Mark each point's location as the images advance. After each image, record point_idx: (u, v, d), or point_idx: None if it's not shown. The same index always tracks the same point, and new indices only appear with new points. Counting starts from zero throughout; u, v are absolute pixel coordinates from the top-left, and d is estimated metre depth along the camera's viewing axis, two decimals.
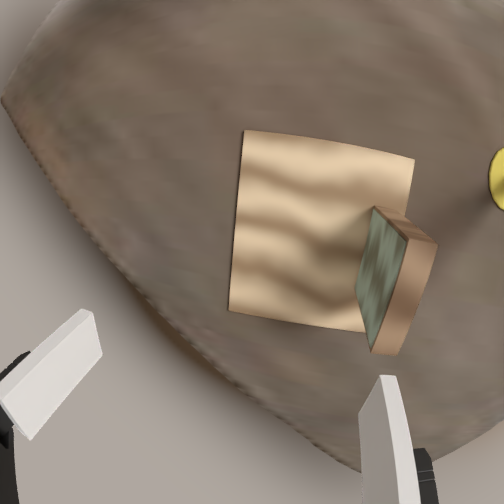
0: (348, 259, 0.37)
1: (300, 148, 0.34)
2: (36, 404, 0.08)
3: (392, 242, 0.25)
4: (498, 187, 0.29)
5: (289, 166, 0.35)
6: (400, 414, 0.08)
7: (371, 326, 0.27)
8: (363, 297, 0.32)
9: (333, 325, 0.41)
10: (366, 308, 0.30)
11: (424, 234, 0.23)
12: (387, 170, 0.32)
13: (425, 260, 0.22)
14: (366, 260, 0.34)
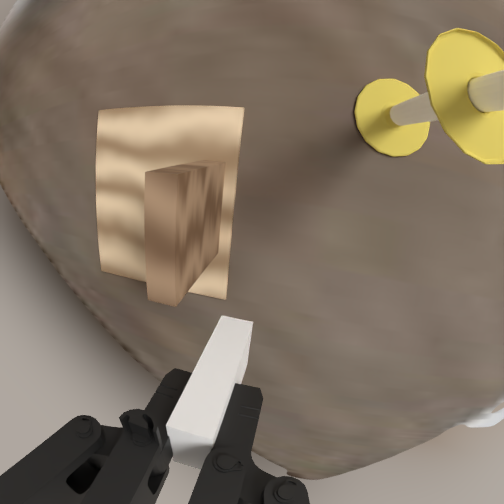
0: None
1: (136, 117, 0.34)
2: None
3: None
4: (371, 126, 0.29)
5: (128, 134, 0.35)
6: (237, 350, 0.11)
7: None
8: None
9: None
10: None
11: (187, 170, 0.24)
12: (213, 123, 0.33)
13: (167, 193, 0.22)
14: None
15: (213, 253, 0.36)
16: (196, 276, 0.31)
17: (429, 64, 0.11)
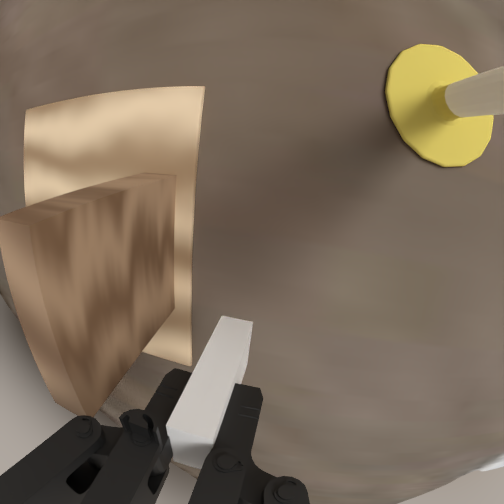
0: None
1: (62, 115, 0.21)
2: None
3: None
4: (412, 116, 0.16)
5: (54, 139, 0.22)
6: (237, 350, 0.11)
7: None
8: None
9: None
10: None
11: (69, 206, 0.11)
12: (158, 113, 0.20)
13: (24, 260, 0.09)
14: None
15: (163, 314, 0.23)
16: (128, 362, 0.18)
17: None
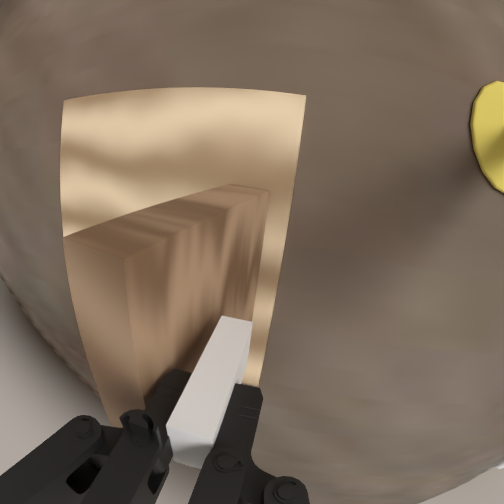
0: None
1: (117, 108, 0.20)
2: None
3: None
4: (490, 150, 0.15)
5: (105, 137, 0.21)
6: (237, 350, 0.11)
7: None
8: None
9: None
10: None
11: (170, 230, 0.10)
12: (251, 119, 0.19)
13: (108, 300, 0.08)
14: None
15: None
16: None
17: None
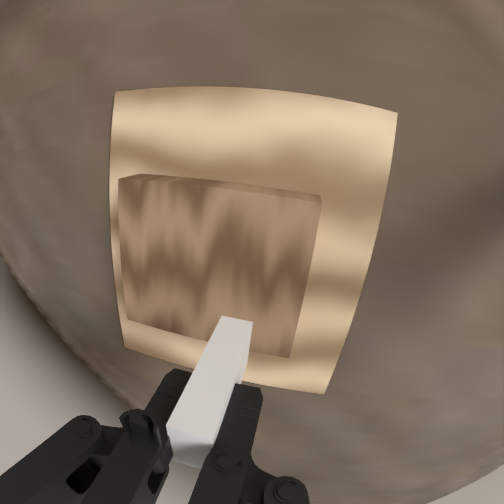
0: None
1: (189, 105, 0.19)
2: None
3: None
4: None
5: (173, 136, 0.20)
6: (237, 350, 0.11)
7: None
8: None
9: (266, 381, 0.27)
10: None
11: (152, 180, 0.19)
12: (346, 131, 0.18)
13: None
14: None
15: (261, 345, 0.21)
16: (184, 330, 0.22)
17: None
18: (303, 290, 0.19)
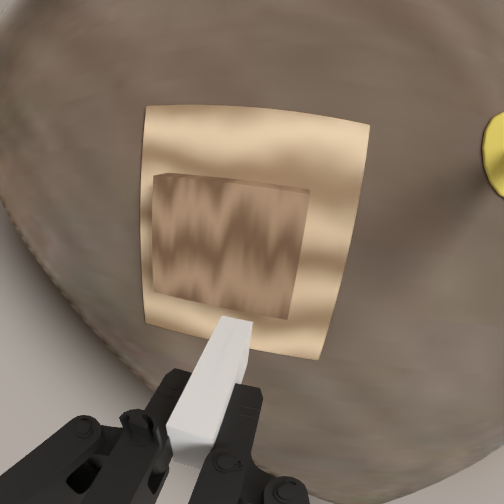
0: None
1: (209, 120, 0.25)
2: None
3: None
4: (496, 166, 0.21)
5: (196, 144, 0.26)
6: (237, 350, 0.11)
7: None
8: None
9: (268, 348, 0.33)
10: None
11: (181, 177, 0.25)
12: (329, 140, 0.24)
13: None
14: None
15: (264, 308, 0.27)
16: (202, 298, 0.28)
17: None
18: (297, 261, 0.25)
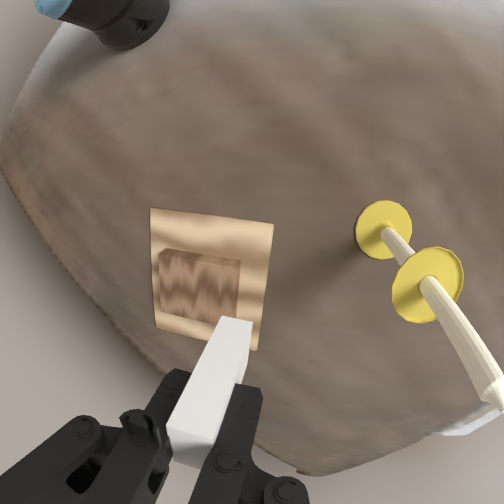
0: None
1: (186, 221, 0.49)
2: None
3: None
4: (366, 239, 0.44)
5: (180, 233, 0.50)
6: (237, 350, 0.11)
7: None
8: None
9: None
10: None
11: (173, 255, 0.48)
12: (250, 234, 0.47)
13: None
14: None
15: None
16: (187, 316, 0.52)
17: (397, 276, 0.25)
18: (233, 299, 0.49)
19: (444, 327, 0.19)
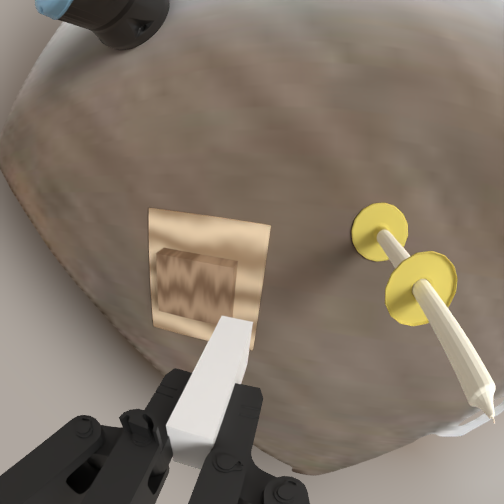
0: None
1: (184, 221, 0.49)
2: None
3: None
4: (362, 241, 0.45)
5: (178, 233, 0.50)
6: (237, 350, 0.11)
7: None
8: None
9: None
10: None
11: (171, 255, 0.49)
12: (247, 235, 0.48)
13: None
14: None
15: (216, 321, 0.51)
16: (184, 315, 0.52)
17: (390, 280, 0.26)
18: (230, 299, 0.49)
19: (436, 331, 0.19)
